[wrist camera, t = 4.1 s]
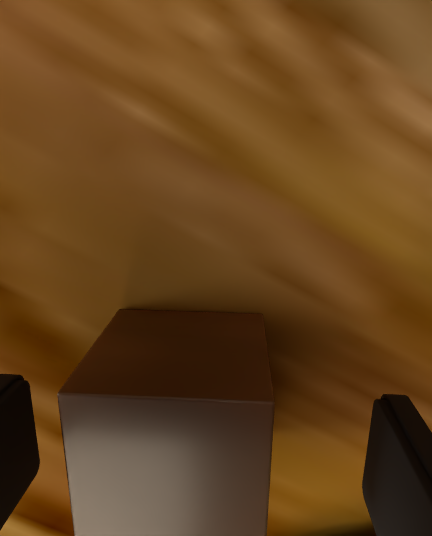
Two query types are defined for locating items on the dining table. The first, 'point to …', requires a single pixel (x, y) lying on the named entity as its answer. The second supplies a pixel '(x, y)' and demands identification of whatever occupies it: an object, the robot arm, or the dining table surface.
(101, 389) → the walnut block
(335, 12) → the dining table surface
